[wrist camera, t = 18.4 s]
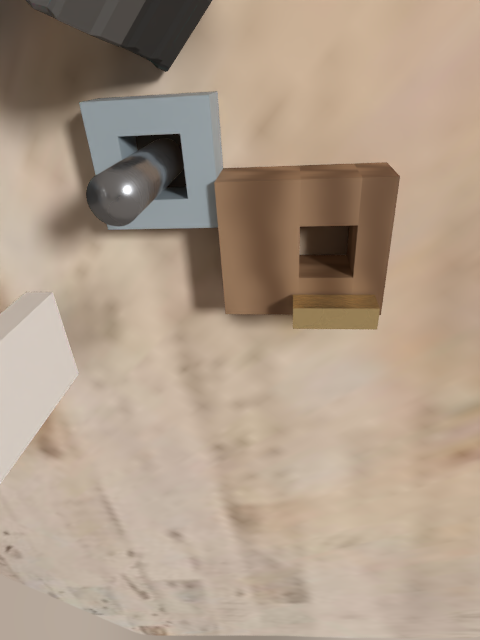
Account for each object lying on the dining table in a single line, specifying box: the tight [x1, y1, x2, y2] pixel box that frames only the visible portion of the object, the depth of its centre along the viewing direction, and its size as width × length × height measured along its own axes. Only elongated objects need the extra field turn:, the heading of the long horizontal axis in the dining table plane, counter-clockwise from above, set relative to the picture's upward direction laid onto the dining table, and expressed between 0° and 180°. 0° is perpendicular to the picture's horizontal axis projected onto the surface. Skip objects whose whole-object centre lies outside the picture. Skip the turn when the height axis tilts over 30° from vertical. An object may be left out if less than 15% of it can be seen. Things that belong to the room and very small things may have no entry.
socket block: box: [214, 163, 400, 315], centre depth 37 cm, size 14×12×5 cm
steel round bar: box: [86, 138, 184, 226], centre depth 32 cm, size 3×3×13 cm
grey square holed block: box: [79, 91, 223, 230], centre depth 35 cm, size 10×10×4 cm
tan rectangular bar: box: [293, 295, 380, 329], centre depth 36 cm, size 7×2×2 cm, turn 93°
